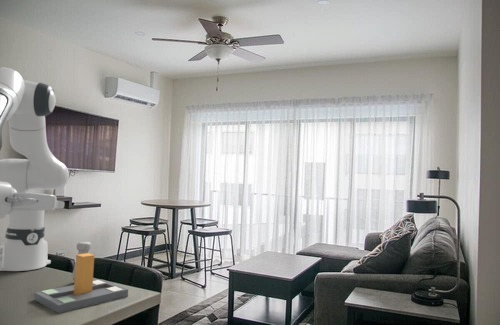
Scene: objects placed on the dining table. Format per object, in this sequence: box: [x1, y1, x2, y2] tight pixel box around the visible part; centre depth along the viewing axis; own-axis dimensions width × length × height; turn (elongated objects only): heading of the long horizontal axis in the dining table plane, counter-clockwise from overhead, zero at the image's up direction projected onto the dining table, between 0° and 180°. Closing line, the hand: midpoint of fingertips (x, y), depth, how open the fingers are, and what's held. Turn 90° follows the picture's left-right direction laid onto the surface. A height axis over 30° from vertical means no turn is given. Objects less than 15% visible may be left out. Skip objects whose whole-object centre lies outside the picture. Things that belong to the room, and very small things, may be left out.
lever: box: [73, 252, 95, 295], centre depth 108 cm, size 4×4×11 cm
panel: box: [33, 279, 129, 314], centre depth 107 cm, size 14×20×2 cm
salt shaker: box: [71, 241, 92, 282], centre depth 122 cm, size 6×6×13 cm
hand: (52, 205), depth 100 cm, fingers open, 8 cm apart
